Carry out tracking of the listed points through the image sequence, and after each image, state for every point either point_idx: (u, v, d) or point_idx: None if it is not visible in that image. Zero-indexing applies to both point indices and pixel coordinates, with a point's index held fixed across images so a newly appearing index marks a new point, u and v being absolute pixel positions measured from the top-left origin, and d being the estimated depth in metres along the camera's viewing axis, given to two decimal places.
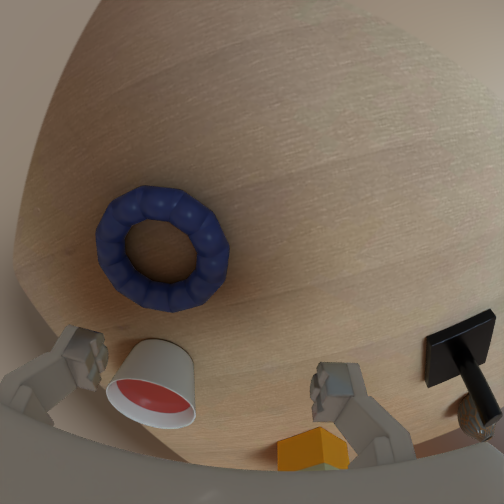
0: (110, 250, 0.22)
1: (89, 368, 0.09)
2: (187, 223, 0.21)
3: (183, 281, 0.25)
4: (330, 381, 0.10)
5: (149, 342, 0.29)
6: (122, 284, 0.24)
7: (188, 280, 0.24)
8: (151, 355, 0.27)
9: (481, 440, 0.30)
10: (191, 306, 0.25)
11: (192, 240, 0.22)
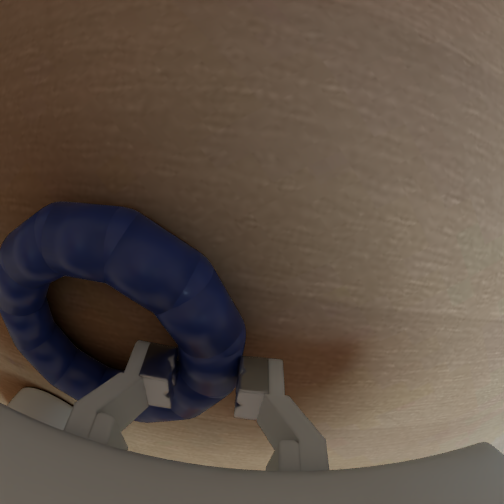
0: (18, 295, 0.09)
1: (169, 386, 0.09)
2: (194, 340, 0.09)
3: None
4: (245, 376, 0.10)
5: (46, 400, 0.15)
6: (26, 348, 0.10)
7: None
8: None
9: None
10: None
11: (184, 360, 0.10)
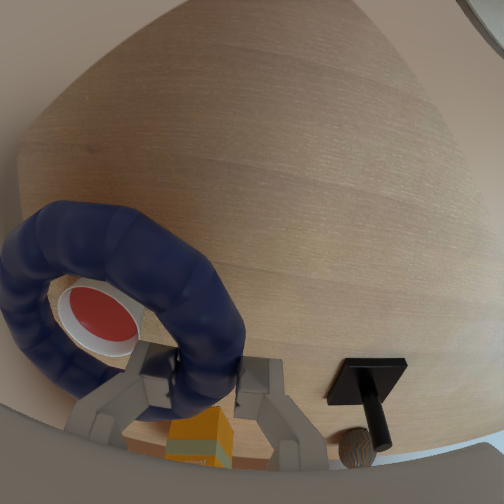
0: (19, 293, 0.09)
1: (169, 386, 0.09)
2: (194, 340, 0.09)
3: None
4: (245, 376, 0.10)
5: None
6: (27, 346, 0.10)
7: None
8: None
9: None
10: None
11: (184, 359, 0.10)
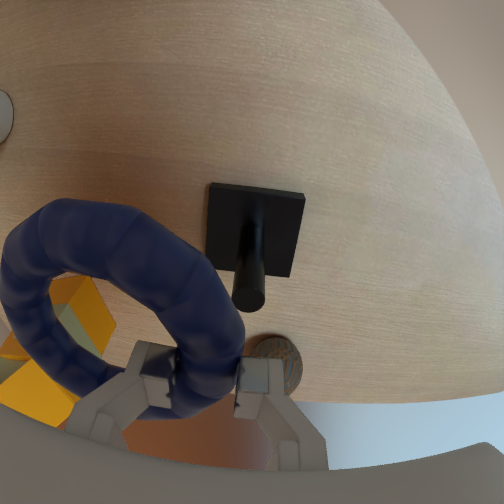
0: (20, 290, 0.09)
1: (169, 386, 0.09)
2: (193, 340, 0.09)
3: None
4: (245, 376, 0.10)
5: None
6: (27, 342, 0.11)
7: None
8: None
9: None
10: None
11: (183, 359, 0.10)
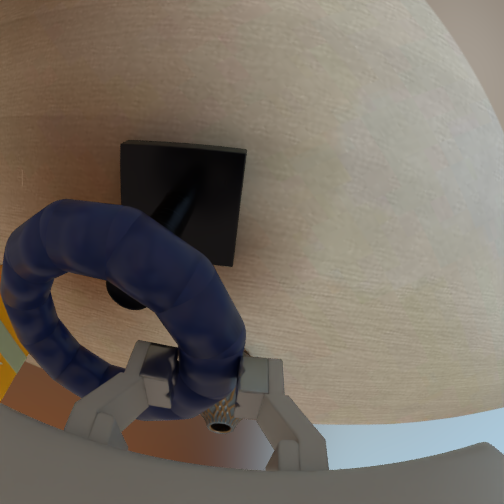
0: (22, 290, 0.09)
1: (169, 386, 0.09)
2: (193, 340, 0.09)
3: None
4: (245, 376, 0.10)
5: None
6: (29, 342, 0.11)
7: None
8: None
9: (207, 422, 0.25)
10: None
11: (184, 360, 0.10)
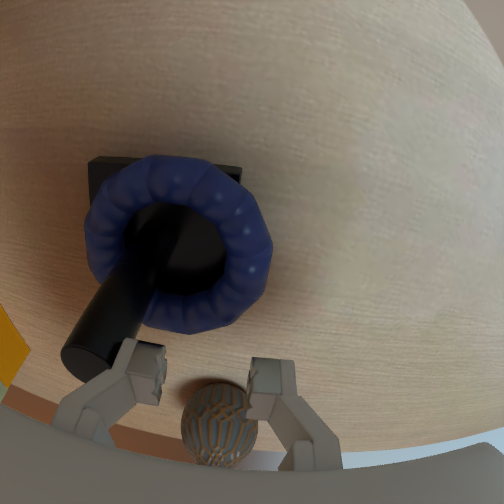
0: (112, 218, 0.15)
1: (155, 383, 0.09)
2: (242, 242, 0.15)
3: (181, 297, 0.19)
4: (258, 377, 0.10)
5: None
6: (102, 266, 0.16)
7: (190, 301, 0.18)
8: None
9: None
10: (177, 331, 0.18)
11: (231, 263, 0.16)
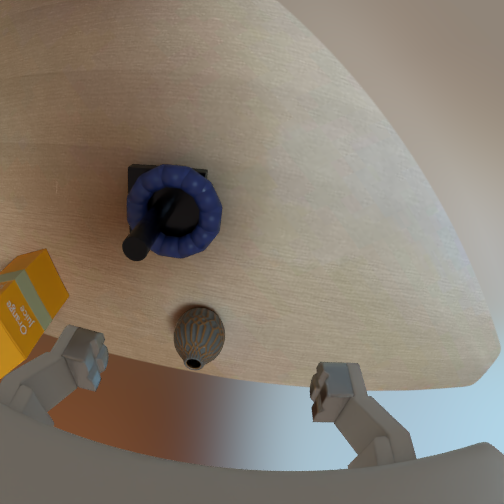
0: (143, 195, 0.32)
1: (89, 368, 0.09)
2: (206, 205, 0.32)
3: (176, 237, 0.35)
4: (330, 381, 0.10)
5: None
6: (136, 220, 0.33)
7: (182, 238, 0.35)
8: None
9: (184, 359, 0.37)
10: (174, 256, 0.35)
11: (201, 216, 0.33)
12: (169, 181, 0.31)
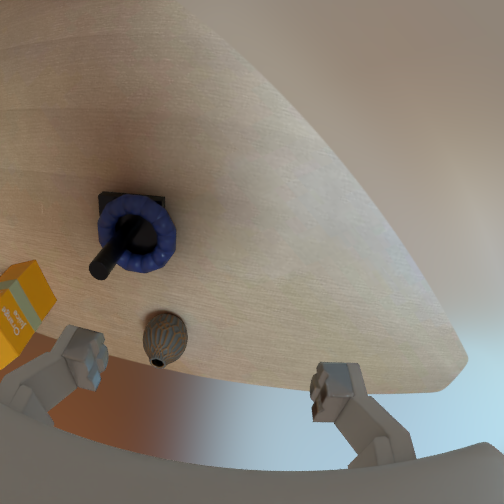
0: (110, 220, 0.36)
1: (89, 368, 0.09)
2: (161, 230, 0.36)
3: (140, 255, 0.40)
4: (330, 381, 0.10)
5: None
6: (106, 241, 0.38)
7: (144, 256, 0.39)
8: None
9: (149, 359, 0.42)
10: (138, 271, 0.40)
11: (158, 238, 0.37)
12: (130, 210, 0.35)
